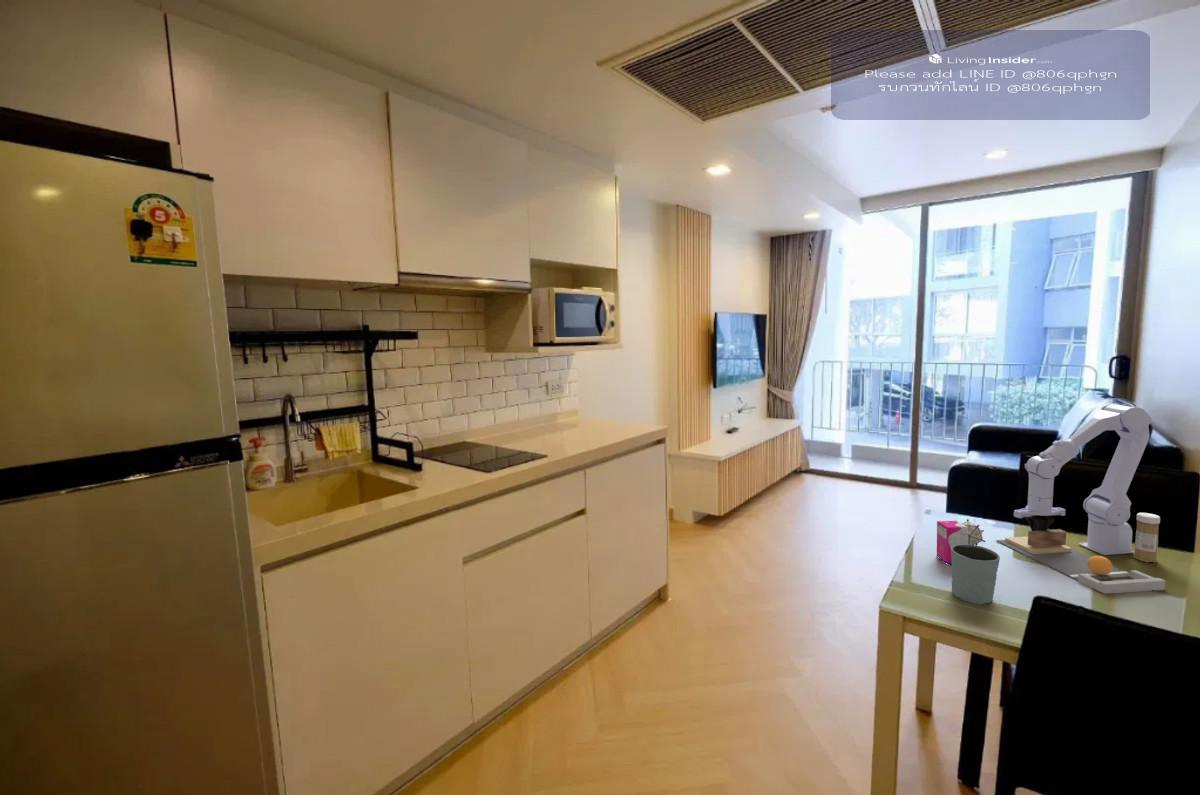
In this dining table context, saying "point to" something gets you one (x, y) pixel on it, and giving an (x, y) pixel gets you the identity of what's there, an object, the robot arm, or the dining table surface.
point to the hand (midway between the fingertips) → (1038, 538)
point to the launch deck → (1084, 568)
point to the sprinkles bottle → (1147, 537)
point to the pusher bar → (1046, 538)
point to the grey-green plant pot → (973, 572)
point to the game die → (973, 533)
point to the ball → (1099, 565)
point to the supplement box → (950, 538)
